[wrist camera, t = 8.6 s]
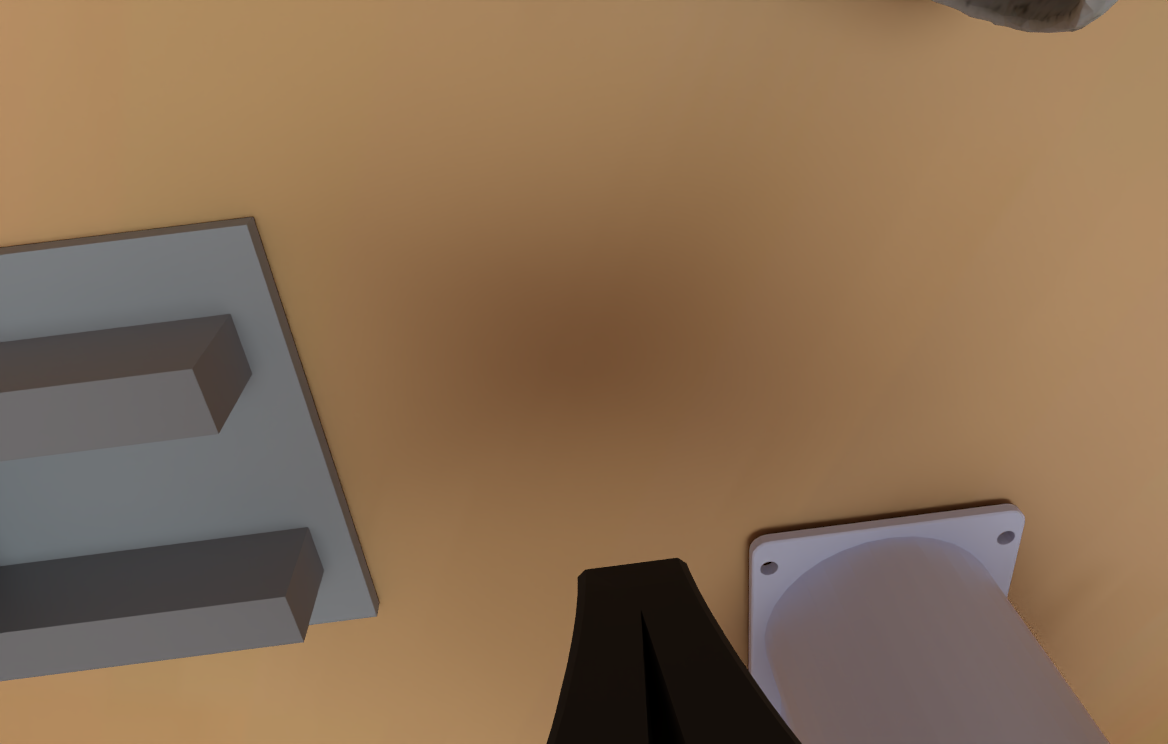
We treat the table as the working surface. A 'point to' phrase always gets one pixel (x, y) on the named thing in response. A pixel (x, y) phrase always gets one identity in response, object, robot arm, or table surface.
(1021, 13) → the ceramic mug
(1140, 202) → the table surface
